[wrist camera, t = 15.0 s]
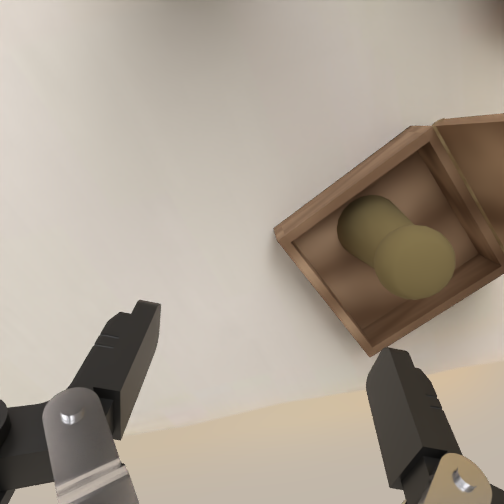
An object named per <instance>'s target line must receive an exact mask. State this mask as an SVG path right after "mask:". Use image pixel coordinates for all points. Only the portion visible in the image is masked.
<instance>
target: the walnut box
mask: <svg viewBox="0 0 504 504" xmlns="http://www.w3.org/2000/svg"><path fill="white" fill-rule="evenodd" d="M367 195H378V196H382V197H385V198H387V199H389V200H390V201H391V202H392V203H393V204H394V205H395V206H396V207H397V208H398V209H399V210H400V211H401V212H402V213H403V214H404V215H405V216H406V217H407V218H408V219H409V220H410V221H411V222H412V223H413V224H414V225H420V226H427V227H429V228H432V229H434V230H436V231H438V232H440V233H442V235H443V236H444V237H445V238H446V239H447V240H448V241H449V242H450V243H451V245H452V247H453V250H454V252H455V263H456V265H455V270H454V273H453V277H452V278H451V280H450V281H449V283H448V284H447V286H445V287H444V288H443V289H442V290H441V291H440V292H439V293H437V294H435V295H433V296H431V297H428V298H423V299H418V300H412V299H404V298H401V297H399V296H396V295H394V294H392V293H390V292H389V291H388V290H387V289H386V288H385V287H384V286H383V285H382V284H381V283H380V281H379V279H378V277H377V275H376V273H375V269H374V268H372V267H371V266H369V265H368V264H366V263H364V262H363V261H361V260H360V259H358V258H357V257H355V256H353V255H352V254H350V253H349V252H348V251H347V250H346V249H344V248H343V247H342V245H341V243H340V241H339V239H338V234H337V225H338V219H339V217H340V215H341V213H342V212H343V210H344V209H345V208H346V207H347V206H348V205H349V204H350V203H351V202H352V201H354V200H356V199H358V198H359V197H363V196H367ZM273 229H274V232H275V235H276V238H277V241H278V243H279V244H280V245H281V246H282V248H283V249H284V250H285V251H286V253H287V254H288V255H289V256H290V258H291V259H292V260H293V261H294V263H295V264H296V265H297V266H298V268H299V269H300V270H301V272H302V273H303V274H304V275H305V277H306V278H307V279H308V280H309V282H310V283H311V284H312V285H313V287H314V288H315V289H316V290H317V292H318V293H319V294H320V295H321V297H322V298H323V299H324V300H325V302H326V303H327V304H328V306H329V307H330V308H331V309H332V311H333V312H334V313H335V314H336V316H337V317H338V318H339V319H340V321H341V322H342V323H343V324H344V326H345V327H346V328H347V329H348V331H349V332H350V333H351V335H352V336H353V337H354V338H355V340H356V341H357V342H358V343H359V345H360V346H361V347H362V348H363V350H364V351H365V352H366V353H367V355H368V356H369V357H372V356H373V355H375V354H376V353H378V352H380V351H381V350H382V349H383V348H385V347H388V346H389V345H391V344H392V343H394V342H396V341H397V340H399V339H400V338H402V337H404V336H405V335H407V334H408V333H410V332H411V331H413V330H415V329H416V328H418V327H419V326H421V325H423V324H424V323H426V322H427V321H429V320H431V319H432V318H434V317H435V316H437V315H439V314H440V313H442V312H443V311H445V310H447V309H448V308H450V307H451V306H453V305H455V304H456V303H458V302H459V301H461V300H463V299H464V298H466V297H467V296H469V295H471V294H472V293H474V292H475V291H477V290H479V289H480V288H482V287H483V286H485V285H487V284H488V283H490V282H491V281H493V280H495V279H496V278H498V277H499V276H501V275H502V274H504V252H503V251H502V249H501V247H500V245H499V243H498V242H497V240H496V238H495V236H494V235H493V233H492V231H491V229H490V228H489V226H488V224H487V222H486V221H485V219H484V217H483V215H482V213H481V212H480V210H479V208H478V206H477V205H476V203H475V201H474V199H473V198H472V196H471V194H470V192H469V191H468V189H467V187H466V185H465V183H464V182H463V180H462V178H461V176H460V175H459V173H458V171H457V169H456V168H455V166H454V164H453V162H452V161H451V159H450V157H449V155H448V153H447V152H446V150H445V148H444V146H443V145H442V143H441V141H440V139H439V138H438V136H437V134H436V132H435V131H434V129H433V127H431V126H410V127H408V128H407V129H406V130H404V131H403V132H402V133H400V134H399V135H398V136H396V137H395V138H394V139H392V140H391V141H390V142H388V143H387V144H386V145H384V146H383V147H382V148H380V149H379V150H378V151H376V152H375V153H374V154H372V155H371V156H370V157H368V158H367V159H366V160H364V161H363V162H362V163H360V164H359V165H358V166H356V167H355V168H354V169H352V170H351V171H350V172H348V173H347V174H345V175H344V176H343V177H341V178H340V179H339V180H337V181H336V182H335V183H333V184H332V185H331V186H329V187H328V188H327V189H325V190H324V191H323V192H321V193H320V194H319V195H317V196H316V197H315V198H313V199H312V200H311V201H309V202H308V203H307V204H305V205H304V206H303V207H301V208H300V209H299V210H297V211H296V212H295V213H293V214H292V215H291V216H289V217H288V218H287V219H285V220H284V221H283V222H281V223H280V224H279V225H277V226H276V227H275V228H273Z"/></svg>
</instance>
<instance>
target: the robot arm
mask: <svg viewBox="0 0 504 504" xmlns="http://www.w3.org/2000/svg"><path fill="white" fill-rule="evenodd" d="M160 313H161V304H159V303H153V302H148V301H143V300H139V301H138V302H137V304H136V306H135V307H134V309H133V311H132V313H131V314H129V313H124V312H119V313H118V314H117V315H115V316H114V317H113V318H111V319H110V320H109V321H108V322H107V323H106V325H105V327H104V328H103V330H102V332H101V334H100V336H99V337H98V339H97V340H96V342H95V345H94V346H93V347H92V349H91V351H90V352H89V354H88V356H87V357H86V359H85V361H84V362H83V364H82V366H81V368H80V369H79V371H78V373H77V374H76V376H75V378H74V379H73V381H72V383H71V384H70V386H69V387H68V388H67V389H66V390H64V391H62V392H60V393H58V394H57V395H55V396H54V397H53V398H52V399H51V400H50V401H47V402H44V403H41V404H35V405H27V406H19V407H11V408H7V407H6V404H5V403H4V402H3V401H2V400H0V504H8V503H9V501H10V499H11V497H12V495H13V493H14V491H15V489H18V488H23V487H29V486H33V485H39V484H44V483H50V482H55V486H56V492H57V496H58V502H59V504H139V501H138V499H137V496H136V493H135V490H134V487H133V484H132V481H131V478H130V475H129V473H128V470H127V468H126V466H125V464H122V463H121V461H120V458H119V456H118V452H117V449H116V446H115V444H114V441H113V439H115V440H121V438H122V436H123V433H124V431H125V428H126V426H127V423H128V420H129V418H130V415H131V413H132V410H133V407H134V405H135V402H136V400H137V397H138V394H139V392H140V389H141V387H142V384H143V382H144V379H145V376H146V374H147V371H148V369H149V366H150V363H151V361H152V358H153V356H154V353H155V350H156V347H157V343H158V338H159V327H160ZM366 391H367V395H368V400H369V404H370V408H371V412H372V416H373V420H374V425H375V429H376V433H377V437H378V441H379V445H380V449H381V454H382V458H383V462H384V466H385V470H386V474H387V479H388V483H389V487H390V488H395V489H400V490H404V494H405V498H406V499H405V500H404V501H403V502H402V504H504V491H503V490H501V489H499V488H497V487H495V486H493V485H492V484H490V483H489V481H488V480H487V478H486V476H485V475H484V473H483V472H482V471H481V469H480V468H479V467H478V466H477V465H476V464H475V463H473V462H472V461H471V460H469V459H468V458H466V457H464V456H463V455H462V453H461V451H460V448H459V446H458V444H457V441H456V439H455V437H454V434H453V432H452V430H451V427H450V425H449V423H448V420H447V418H446V416H445V413H444V411H443V410H442V406H441V404H440V402H439V400H438V399H437V395H436V392H435V390H434V388H433V385H432V383H431V381H430V380H429V379H428V378H427V376H426V375H425V374H424V373H423V372H422V370H421V369H419V368H415V367H414V365H413V362H412V360H411V357H410V355H409V353H408V352H407V351H403V350H398V349H393V348H388V347H385V348H383V349H382V351H381V352H380V354H379V356H378V358H377V360H376V361H375V363H374V365H373V367H372V369H371V370H370V372H369V374H368V377H367V382H366Z"/></svg>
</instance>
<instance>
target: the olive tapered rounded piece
mask: <svg viewBox="0 0 504 504" xmlns="http://www.w3.org/2000/svg"><path fill="white" fill-rule="evenodd" d="M337 234H338V239H339V241H340V243H341V245H342V247H343V248H344V249H346V250H347V251H348V252H349V253H350V254H352V255H353V256H355V257H357V258H358V259H360V260H361V261H363V262H364V263H366V264H368V265H369V266H371V267H372V268H374V269H375V273H376V275H377V277H378V279H379V281H380V283H381V284H382V285H383V286H384V287H385V288H386V289H387V290H388V291H389V292H390V293H392V294H394V295H396V296H399V297H401V298H404V299H412V300H418V299H423V298H428V297H431V296H433V295H435V294H437V293H439V292H440V291H441V290H442V289H443V288H444V287H445V286H447V284H448V283H449V281H450V280H451V278H452V277H453V273H454V270H455V265H456V263H455V252H454V250H453V247H452V245H451V243H450V242H449V241H448V240H447V239H446V238H445V237H444V236H443V235H442V233H440V232H438V231H436V230H434V229H432V228H429V227H427V226H420V225H414V224H413V223H412V222H411V221H410V220H409V219H408V218H407V217H406V216H405V215H404V214H403V213H402V212H401V211H400V210H399V209H398V208H397V207H396V206H395V205H394V204H393V203H392V202H391V201H390V200H389V199H387V198H385V197H382V196H378V195H367V196H363V197H359V198H358V199H356V200H354V201H352V202H351V203H350V204H349V205H348V206H347V207H346V208H345V209H344V210H343V212H342V213H341V215H340V217H339V219H338V225H337Z"/></svg>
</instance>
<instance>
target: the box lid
mask: <svg viewBox="0 0 504 504" xmlns="http://www.w3.org/2000/svg"><path fill="white" fill-rule="evenodd" d="M431 127H433V129H434V131H435V132H436V134H437V136H438V138H439V139H440V141H441V143H442V145H443V146H444V148H445V150H446V152H447V153H448V155H449V157H450V159H451V161H452V162H453V164H454V166H455V168H456V169H457V171H458V173H459V175H460V176H461V178H462V180H463V182H464V183H465V185H466V187H467V189H468V191H469V192H470V194H471V196H472V198H473V199H474V201H475V203H476V205H477V206H478V208H479V210H480V212H481V213H482V215H483V217H484V219H485V221H486V222H487V224H488V226H489V228H490V229H491V231H492V233H493V235H494V236H495V238H496V240H497V242H498V243H499V245H500V247H501V249H502V251H503V252H504V113H503V114H492V115H482V116H471V117H461V118H450V119H444V118H443V119H440V120H438V121H436V122H435V123H434V124H433V125H432V126H431Z"/></svg>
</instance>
